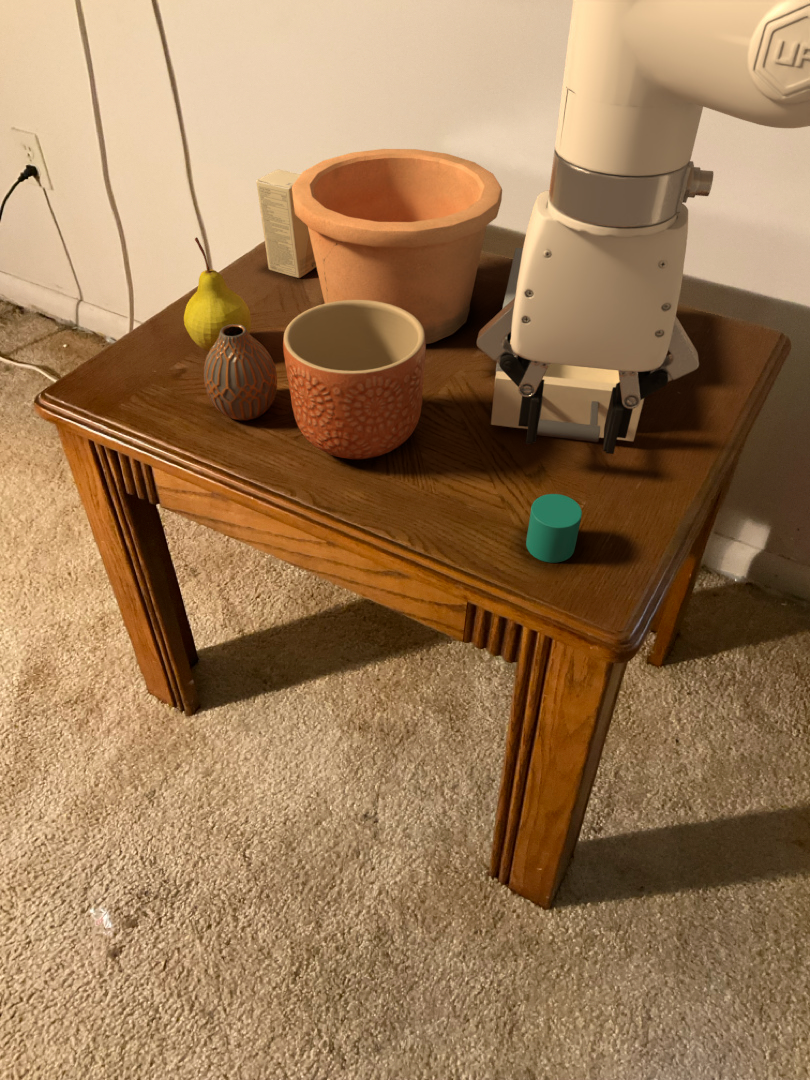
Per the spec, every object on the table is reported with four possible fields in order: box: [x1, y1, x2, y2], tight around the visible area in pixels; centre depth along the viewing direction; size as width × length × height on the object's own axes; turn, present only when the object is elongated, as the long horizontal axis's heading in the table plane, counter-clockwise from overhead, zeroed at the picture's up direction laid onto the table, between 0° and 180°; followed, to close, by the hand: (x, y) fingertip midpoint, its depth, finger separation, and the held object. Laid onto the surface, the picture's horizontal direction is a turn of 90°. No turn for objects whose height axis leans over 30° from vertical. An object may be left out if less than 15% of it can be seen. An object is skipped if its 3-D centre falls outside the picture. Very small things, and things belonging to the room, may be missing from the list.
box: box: [255, 168, 317, 279], centre depth 99 cm, size 5×4×11 cm
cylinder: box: [525, 493, 583, 564], centre depth 66 cm, size 4×4×4 cm
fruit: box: [183, 237, 252, 353], centre depth 85 cm, size 7×7×12 cm
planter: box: [282, 300, 427, 460], centre depth 75 cm, size 12×12×11 cm
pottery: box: [292, 148, 503, 345], centre depth 90 cm, size 22×22×14 cm
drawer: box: [490, 340, 645, 443], centre depth 78 cm, size 19×13×5 cm
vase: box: [203, 324, 278, 421], centre depth 78 cm, size 7×7×9 cm
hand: (570, 435), depth 60 cm, fingers open, 4 cm apart
